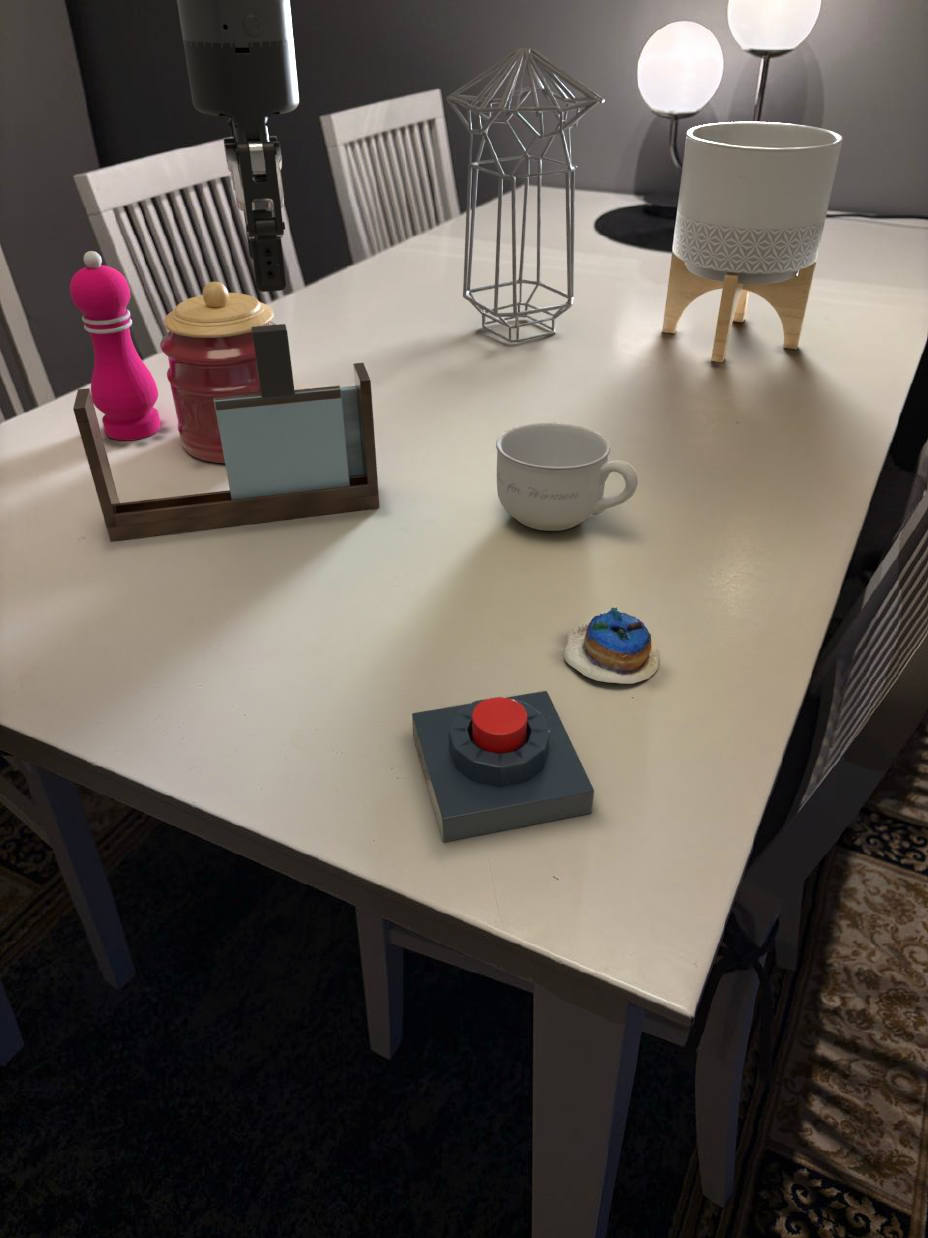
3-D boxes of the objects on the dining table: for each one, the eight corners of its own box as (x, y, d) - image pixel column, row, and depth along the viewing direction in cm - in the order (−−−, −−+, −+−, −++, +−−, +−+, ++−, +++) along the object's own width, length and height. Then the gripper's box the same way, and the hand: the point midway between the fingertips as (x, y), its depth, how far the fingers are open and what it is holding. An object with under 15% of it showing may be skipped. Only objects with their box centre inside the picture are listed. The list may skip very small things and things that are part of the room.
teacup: (472, 516, 90) (472, 442, 85) (541, 478, 96) (545, 407, 92) (585, 569, 82) (592, 491, 78) (652, 524, 89) (663, 449, 84)
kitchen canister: (315, 448, 102) (296, 288, 92) (202, 476, 97) (169, 310, 86) (272, 407, 111) (251, 257, 101) (167, 431, 106) (133, 276, 95)
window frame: (110, 541, 87) (72, 408, 79) (113, 518, 90) (77, 389, 82) (379, 507, 92) (370, 379, 83) (372, 487, 95) (363, 362, 87)
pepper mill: (89, 440, 104) (40, 259, 92) (119, 414, 110) (75, 240, 98) (149, 444, 103) (106, 262, 91) (175, 418, 109) (138, 243, 97)
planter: (647, 352, 125) (672, 142, 110) (676, 310, 139) (702, 118, 124) (789, 371, 119) (836, 152, 104) (804, 325, 133) (848, 126, 118)
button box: (443, 842, 58) (441, 800, 55) (412, 735, 65) (410, 693, 63) (592, 813, 60) (597, 770, 57) (545, 712, 67) (548, 671, 65)
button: (479, 758, 59) (479, 738, 58) (466, 721, 61) (466, 701, 60) (533, 748, 59) (534, 729, 58) (517, 712, 62) (518, 693, 61)
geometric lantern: (500, 357, 124) (505, 57, 103) (444, 323, 135) (439, 45, 114) (593, 336, 130) (616, 49, 109) (532, 305, 141) (543, 39, 120)
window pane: (233, 509, 88) (202, 336, 78) (232, 501, 90) (201, 330, 79) (351, 495, 90) (335, 325, 80) (348, 487, 92) (333, 319, 81)
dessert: (679, 675, 69) (641, 626, 66) (608, 722, 71) (567, 677, 68) (646, 619, 76) (609, 573, 73) (581, 664, 77) (543, 620, 74)
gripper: (181, 25, 68) (216, 253, 77) (182, 42, 57) (222, 305, 66) (283, 24, 69) (305, 247, 79) (303, 40, 58) (325, 297, 68)
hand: (267, 273), depth 72 cm, fingers open, 8 cm apart
